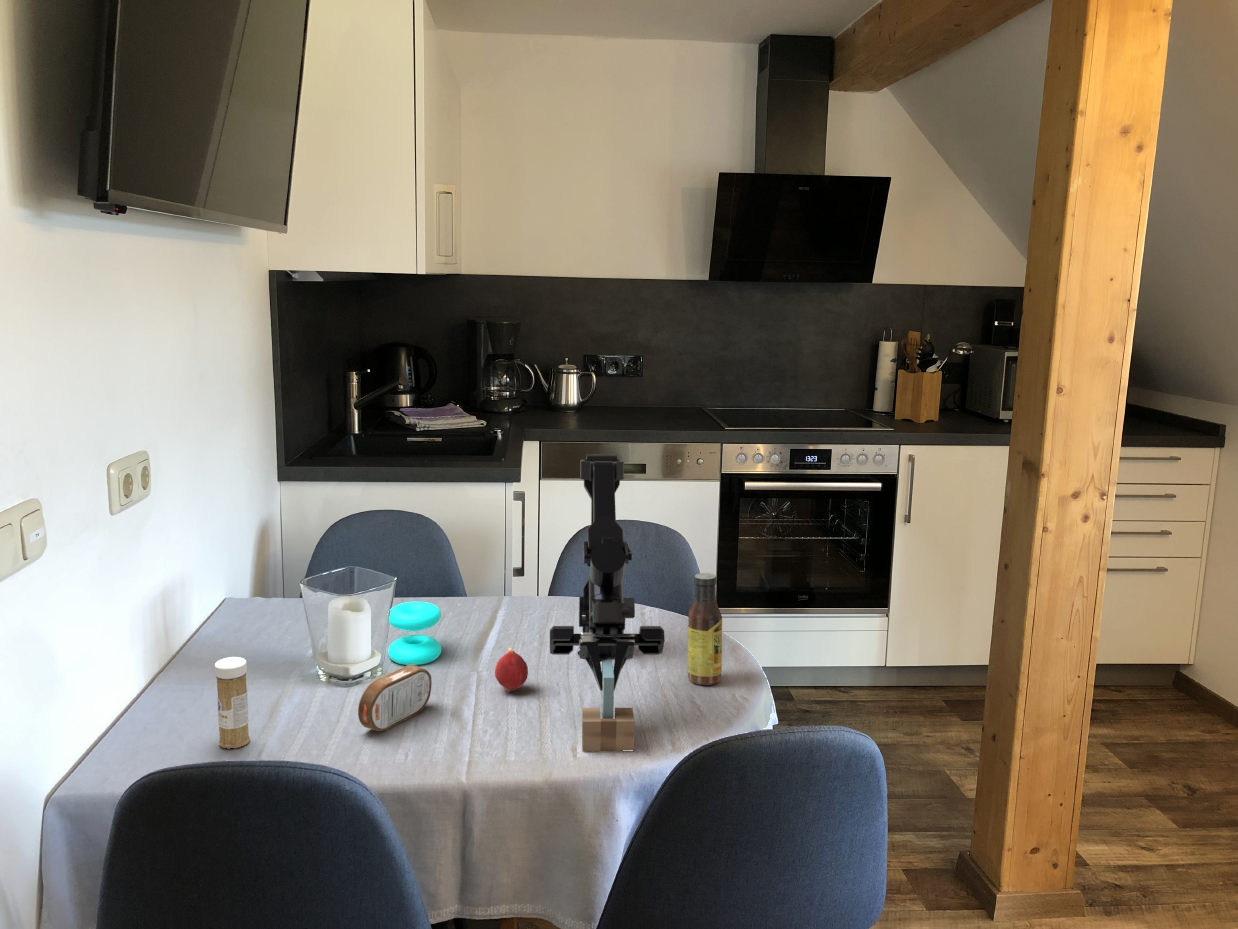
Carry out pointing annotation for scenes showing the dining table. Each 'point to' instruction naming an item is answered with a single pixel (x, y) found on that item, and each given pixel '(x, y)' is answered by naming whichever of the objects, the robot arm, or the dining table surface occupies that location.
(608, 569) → the robot arm
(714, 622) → the sauce bottle
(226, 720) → the sprinkles bottle
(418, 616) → the donuts
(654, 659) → the dining table surface
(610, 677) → the pale blue slab box
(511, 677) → the onion
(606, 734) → the clip block
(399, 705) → the tin
